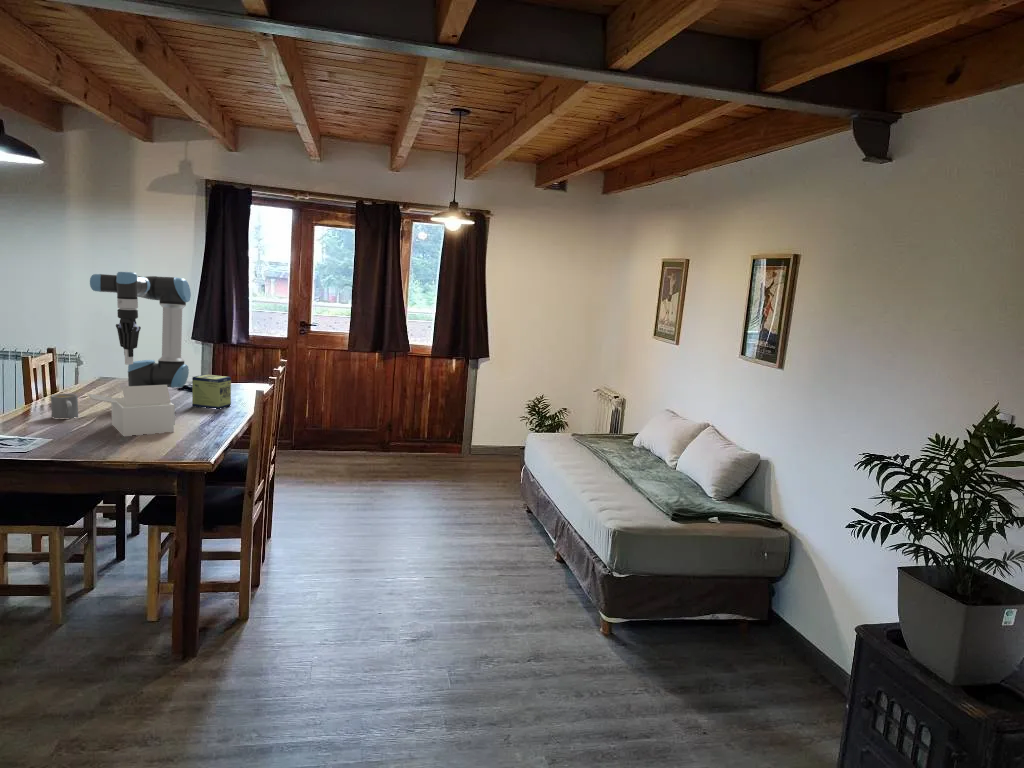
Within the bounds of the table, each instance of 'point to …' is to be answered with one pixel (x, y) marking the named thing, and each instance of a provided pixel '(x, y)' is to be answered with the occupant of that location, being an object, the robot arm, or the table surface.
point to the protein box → (211, 391)
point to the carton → (142, 418)
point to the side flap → (102, 398)
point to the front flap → (146, 395)
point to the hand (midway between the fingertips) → (129, 364)
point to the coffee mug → (64, 405)
